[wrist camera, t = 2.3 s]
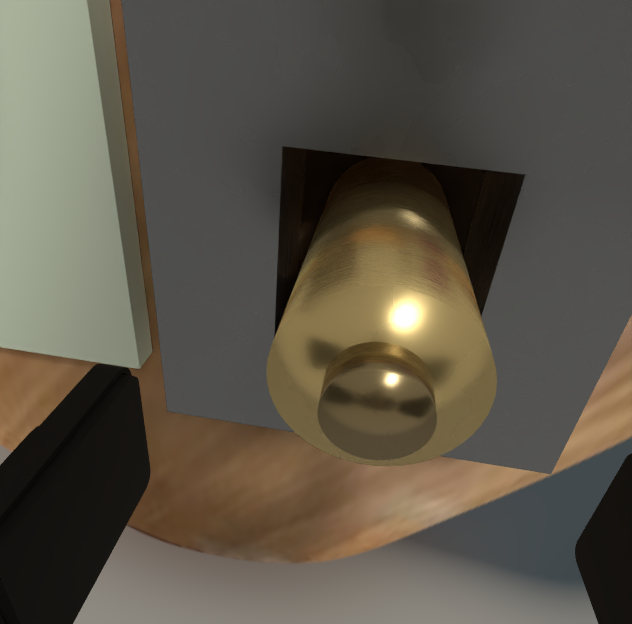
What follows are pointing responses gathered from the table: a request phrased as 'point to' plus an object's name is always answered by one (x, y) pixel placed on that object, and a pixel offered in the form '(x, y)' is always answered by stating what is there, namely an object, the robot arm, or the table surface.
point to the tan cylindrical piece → (383, 325)
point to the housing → (393, 143)
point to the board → (67, 189)
